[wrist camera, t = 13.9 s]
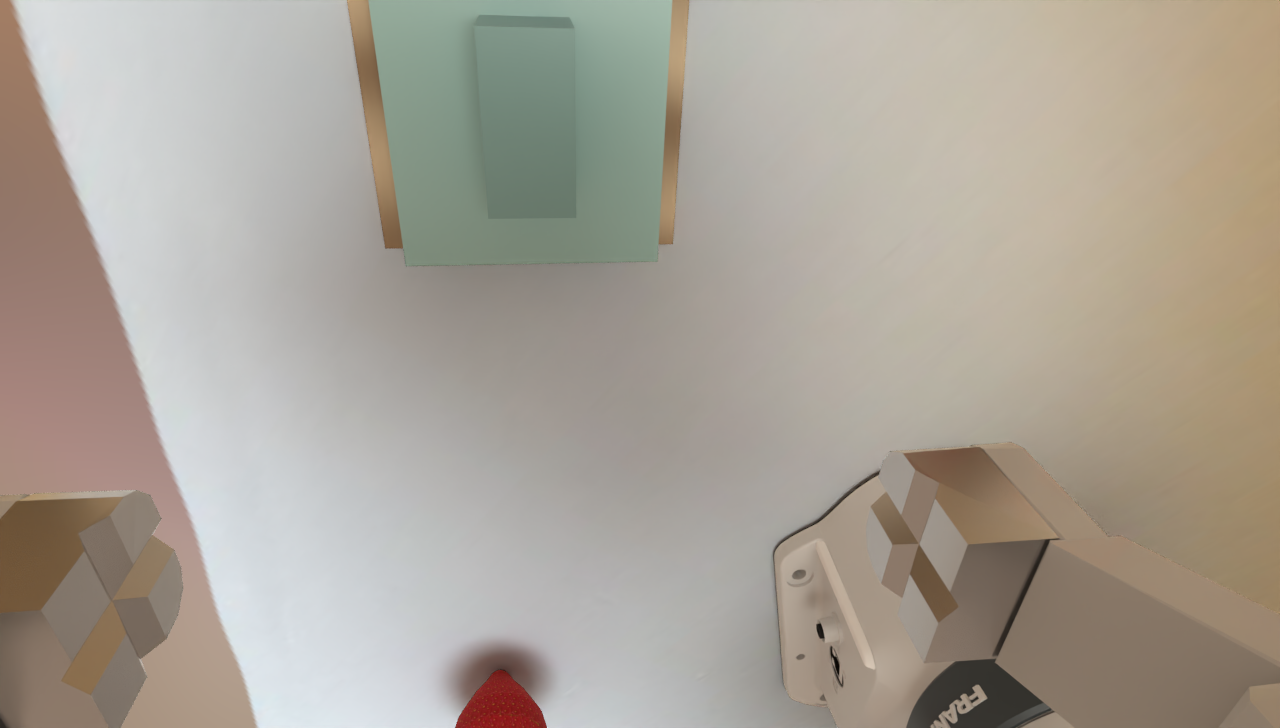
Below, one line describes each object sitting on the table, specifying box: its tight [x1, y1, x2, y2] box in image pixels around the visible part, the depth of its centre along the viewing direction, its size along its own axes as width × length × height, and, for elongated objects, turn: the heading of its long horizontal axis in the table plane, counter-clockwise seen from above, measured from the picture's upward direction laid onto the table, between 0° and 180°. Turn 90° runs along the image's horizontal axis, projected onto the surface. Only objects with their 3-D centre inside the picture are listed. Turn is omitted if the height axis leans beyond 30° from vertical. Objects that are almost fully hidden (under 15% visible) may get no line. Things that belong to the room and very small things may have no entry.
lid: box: [368, 0, 672, 266], centre depth 25 cm, size 12×10×5 cm
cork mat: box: [347, 0, 689, 248], centre depth 27 cm, size 12×12×1 cm
